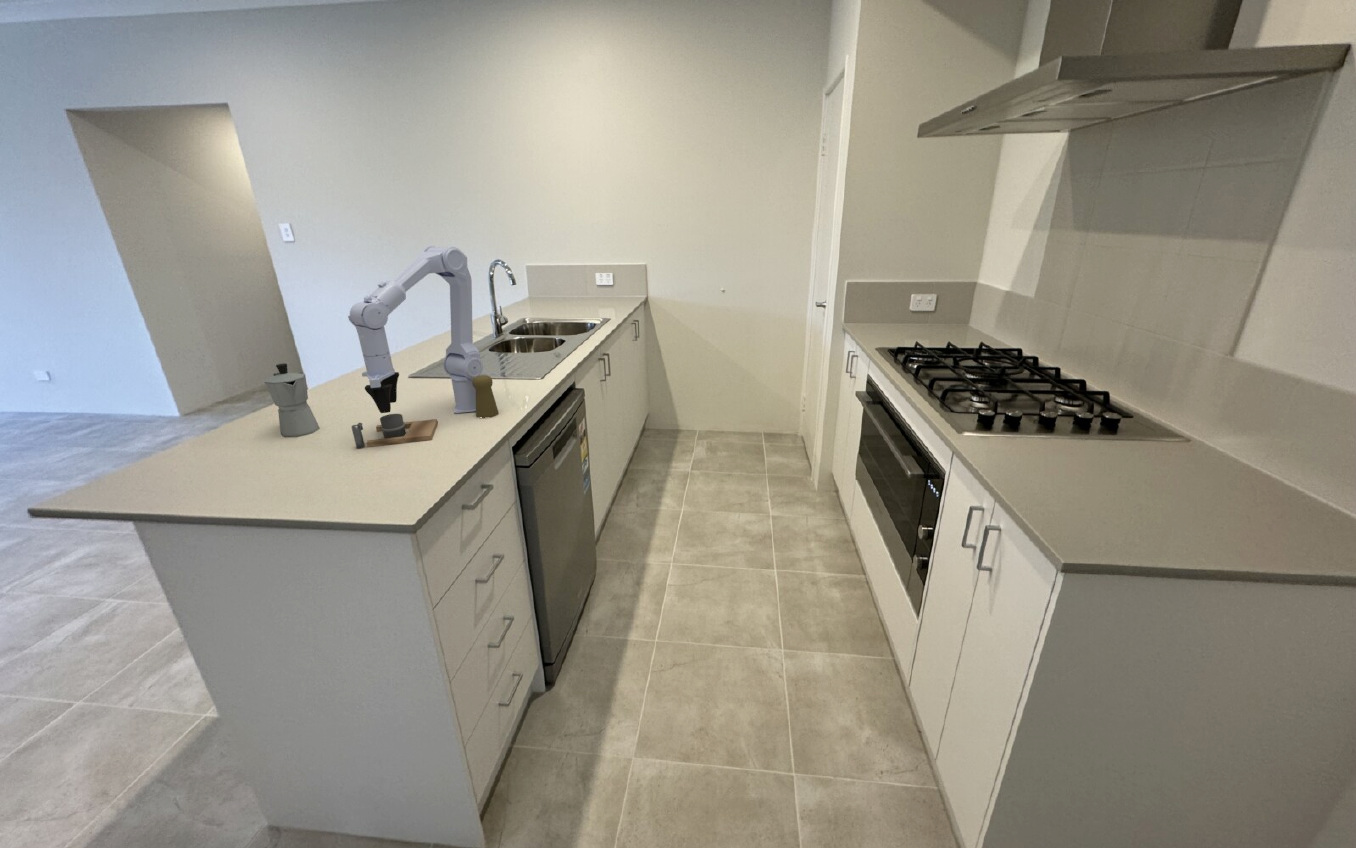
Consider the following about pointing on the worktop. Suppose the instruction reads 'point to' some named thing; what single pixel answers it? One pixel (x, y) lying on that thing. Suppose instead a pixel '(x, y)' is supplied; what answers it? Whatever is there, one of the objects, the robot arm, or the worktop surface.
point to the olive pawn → (484, 397)
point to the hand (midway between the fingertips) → (388, 407)
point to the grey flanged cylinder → (393, 425)
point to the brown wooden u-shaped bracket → (409, 433)
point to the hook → (358, 435)
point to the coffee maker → (291, 402)
